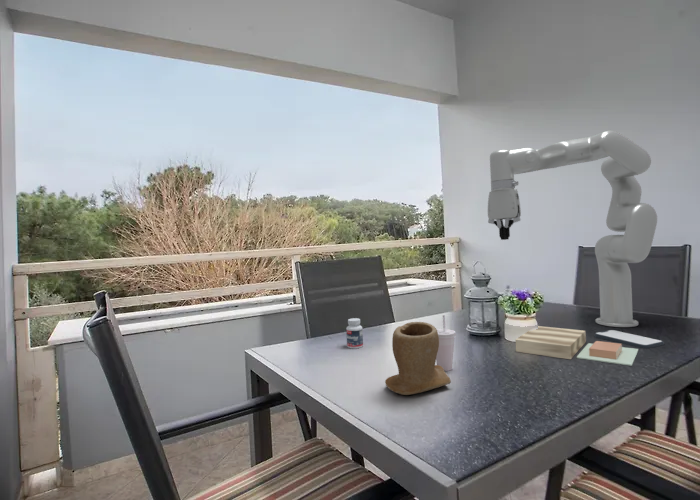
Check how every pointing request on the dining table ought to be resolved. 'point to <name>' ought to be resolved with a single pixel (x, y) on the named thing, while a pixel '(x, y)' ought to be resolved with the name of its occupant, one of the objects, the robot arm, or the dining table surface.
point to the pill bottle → (354, 334)
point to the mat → (624, 358)
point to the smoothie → (445, 347)
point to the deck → (551, 342)
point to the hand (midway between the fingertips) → (504, 239)
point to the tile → (605, 350)
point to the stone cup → (416, 359)
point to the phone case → (628, 339)
